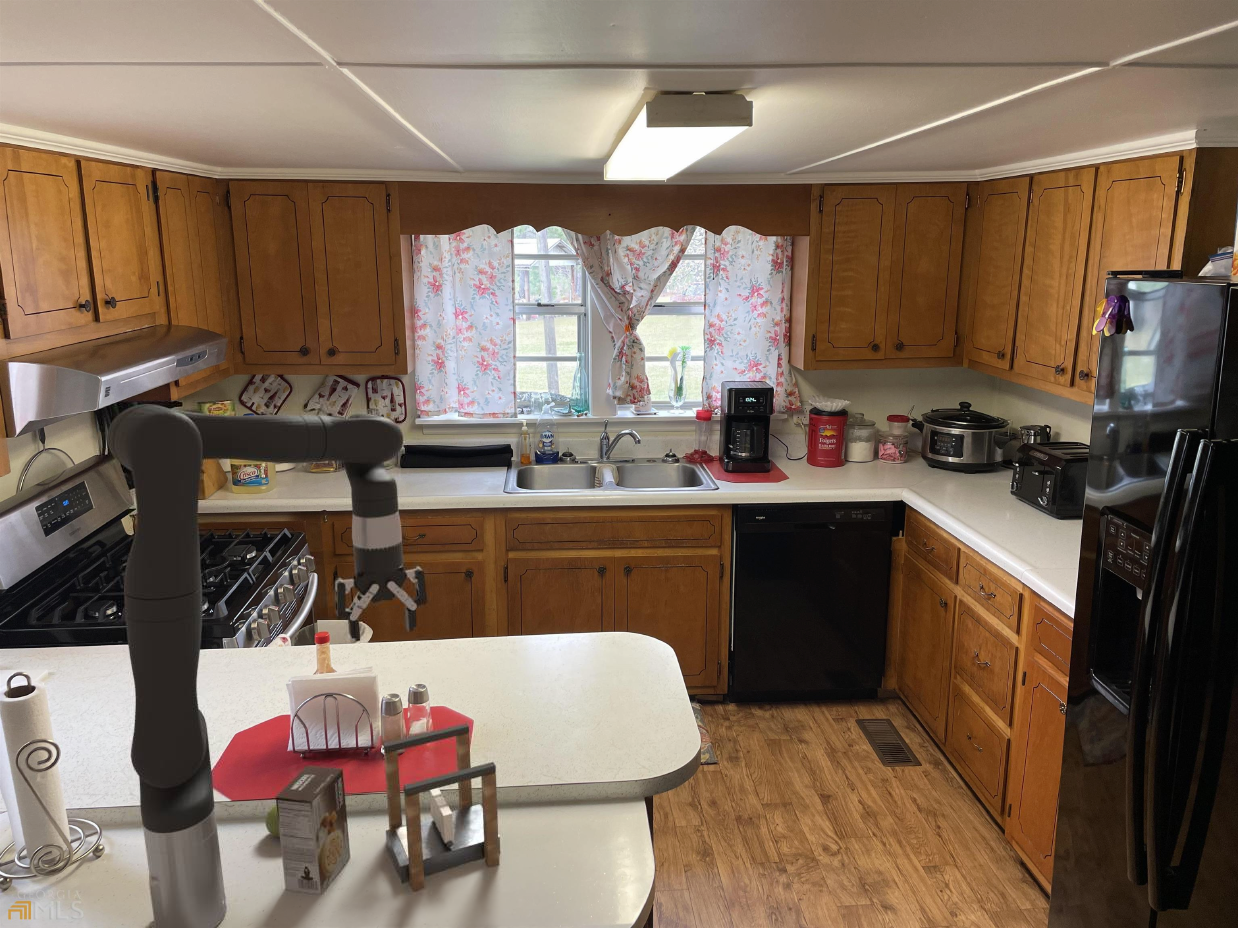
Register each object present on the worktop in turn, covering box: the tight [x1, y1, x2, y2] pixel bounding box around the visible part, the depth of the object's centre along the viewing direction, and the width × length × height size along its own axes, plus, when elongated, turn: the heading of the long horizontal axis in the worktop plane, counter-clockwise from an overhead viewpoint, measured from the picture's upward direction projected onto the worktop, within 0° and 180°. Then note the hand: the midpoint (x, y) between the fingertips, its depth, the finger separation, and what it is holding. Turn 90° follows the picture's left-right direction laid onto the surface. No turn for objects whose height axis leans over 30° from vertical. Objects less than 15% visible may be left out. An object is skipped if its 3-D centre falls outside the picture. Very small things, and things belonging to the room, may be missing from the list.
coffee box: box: [275, 765, 351, 895], centre depth 139 cm, size 9×6×16 cm
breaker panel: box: [385, 803, 501, 884], centre depth 146 cm, size 16×10×3 cm, turn 117°
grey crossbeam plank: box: [403, 761, 497, 796], centre depth 136 cm, size 14×1×1 cm, turn 117°
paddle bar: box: [429, 788, 454, 848], centre depth 145 cm, size 1×9×6 cm, turn 27°
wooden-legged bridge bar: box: [382, 722, 470, 753], centre depth 148 cm, size 14×1×1 cm, turn 117°
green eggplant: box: [265, 804, 280, 838], centre depth 149 cm, size 6×5×10 cm
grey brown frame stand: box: [383, 732, 500, 893], centre depth 144 cm, size 14×15×16 cm
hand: (383, 634), depth 146 cm, fingers open, 8 cm apart
